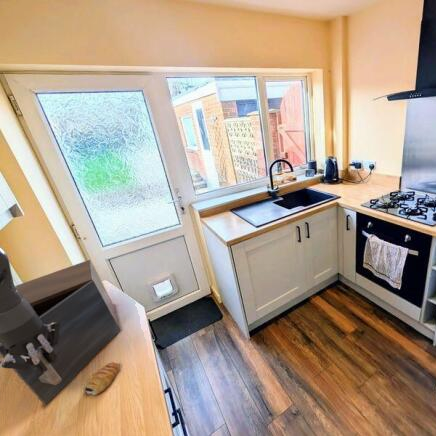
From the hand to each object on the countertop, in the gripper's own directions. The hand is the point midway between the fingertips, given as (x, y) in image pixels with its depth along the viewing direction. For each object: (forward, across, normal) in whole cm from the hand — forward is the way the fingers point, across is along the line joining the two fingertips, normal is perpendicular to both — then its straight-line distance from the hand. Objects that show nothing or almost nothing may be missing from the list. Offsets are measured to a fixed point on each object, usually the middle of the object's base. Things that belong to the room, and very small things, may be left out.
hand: (48, 366), depth 67 cm
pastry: (+15, -5, +6) cm, 16 cm away
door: (+14, -10, -3) cm, 18 cm away
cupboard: (+15, -20, -22) cm, 33 cm away
